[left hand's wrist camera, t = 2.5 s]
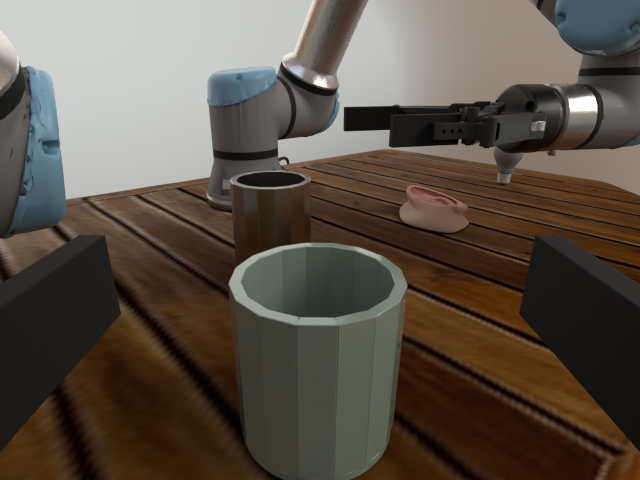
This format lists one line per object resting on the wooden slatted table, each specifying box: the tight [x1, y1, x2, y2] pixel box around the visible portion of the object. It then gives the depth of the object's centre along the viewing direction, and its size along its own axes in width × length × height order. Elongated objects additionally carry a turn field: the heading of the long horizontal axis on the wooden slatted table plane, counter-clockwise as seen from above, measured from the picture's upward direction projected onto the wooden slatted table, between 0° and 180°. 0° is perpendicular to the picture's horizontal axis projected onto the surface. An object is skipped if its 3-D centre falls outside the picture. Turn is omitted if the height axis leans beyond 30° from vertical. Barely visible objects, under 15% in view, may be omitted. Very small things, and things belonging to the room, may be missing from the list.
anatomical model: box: [400, 186, 469, 233], centre depth 66 cm, size 13×4×12 cm
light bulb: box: [494, 146, 524, 184], centre depth 88 cm, size 6×6×10 cm
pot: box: [228, 243, 407, 480], centre depth 26 cm, size 10×10×11 cm
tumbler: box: [230, 170, 311, 267], centre depth 43 cm, size 8×8×12 cm
